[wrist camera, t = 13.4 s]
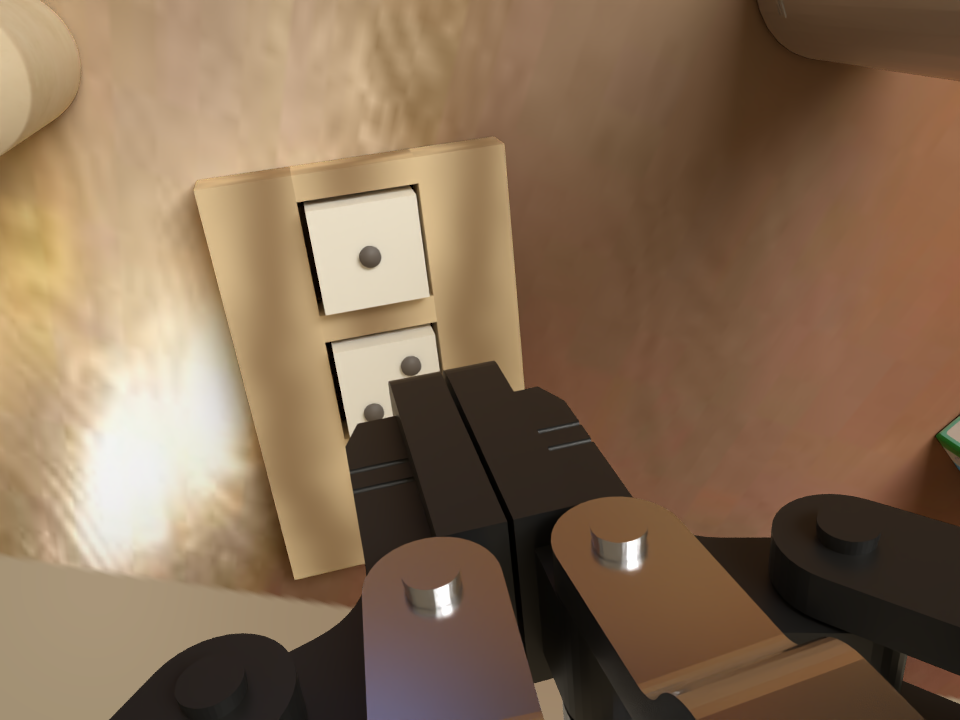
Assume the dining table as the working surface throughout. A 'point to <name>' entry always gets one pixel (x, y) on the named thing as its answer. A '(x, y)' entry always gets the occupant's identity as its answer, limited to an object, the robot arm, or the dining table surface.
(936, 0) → the robot arm
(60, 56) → the candle
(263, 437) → the board
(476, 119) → the dining table surface
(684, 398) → the dining table surface
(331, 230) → the tile one
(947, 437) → the milk carton
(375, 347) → the tile two
